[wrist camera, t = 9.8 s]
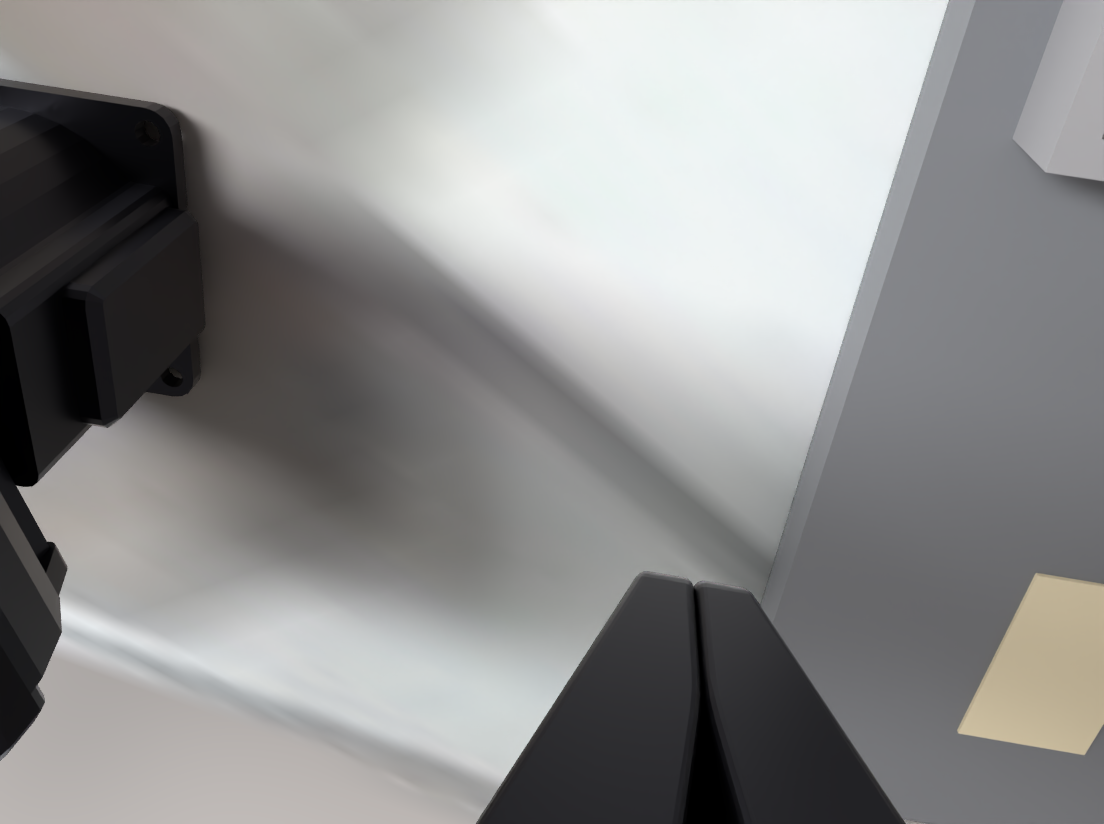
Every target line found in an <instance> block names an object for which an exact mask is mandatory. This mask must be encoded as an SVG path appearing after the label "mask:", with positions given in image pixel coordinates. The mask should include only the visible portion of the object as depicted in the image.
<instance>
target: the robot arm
mask: <svg viewBox="0 0 1104 824" xmlns="http://www.w3.org/2000/svg"><path fill="white" fill-rule="evenodd" d="M145 120H146V121H149V122H151V123H153V124H154V125H155V126H156V127H157V128H158V130H159V133H160V141H157V140H154V139H152V138H151V137H150V136H149V135H148V134H147V133H146V131H145V128H144V123H145ZM204 327H205V312H204V299H203V286H202V273H201V259H200V246H199V233H198V223H197V222H196V220H195V219H194V217H193V216H192V214H191V213H190V212H189V211H188V208H187V195H186V183H185V170H184V158H183V146H182V133H181V129H180V125H179V122H178V120H177V119H176V117H175V116H174V114H173V113H172V112H171V111H170V110H168V109H167V108H166V107H165V106H163V105H160V104H157V103H154V102H148V101H141V100H135V99H128V98H122V97H115V96H109V95H102V94H96V93H89V92H83V91H76V90H70V89H63V88H57V87H50V86H44V85H37V84H31V83H25V82H18V81H12V80H5V79H0V761H1V760H2V759H3V758H4V757H5V756H6V755H7V754H8V753H9V751H10V750H11V749H12V748H13V747H14V745H15V744H16V743H17V742H18V741H19V739H20V738H21V737H22V735H23V734H24V733H25V732H26V731H27V730H28V728H29V727H30V726H31V725H32V724H33V722H34V721H35V719H36V718H37V716H38V714H39V713H40V711H41V709H42V707H43V705H44V703H45V699H44V695H43V693H42V692H41V690H40V688H39V687H38V683H39V681H40V680H41V679H42V677H43V675H44V672H45V670H46V668H47V665H48V663H49V661H50V658H51V656H52V654H53V651H54V649H55V647H56V644H57V642H58V640H59V637H60V635H61V633H62V628H61V611H60V598H59V594H60V591H61V587H62V584H63V581H64V578H65V575H66V572H67V565H66V563H65V561H64V559H63V558H62V556H61V554H60V552H59V550H58V548H57V547H56V545H55V544H54V543H53V542H47V541H46V539H45V538H44V536H43V534H42V532H41V530H40V529H39V527H38V525H37V523H36V521H35V519H34V518H33V516H32V514H31V512H30V510H29V508H28V507H27V505H26V503H25V501H24V499H23V498H22V496H21V494H20V492H19V490H18V488H17V487H16V485H17V486H23V487H29V486H33V485H35V484H36V483H37V482H38V481H39V480H40V479H41V478H42V477H43V476H44V475H45V474H46V473H47V472H48V471H49V470H50V469H51V468H52V467H53V466H54V465H55V464H56V463H57V461H58V460H59V459H60V458H61V457H62V456H63V455H64V454H65V453H66V452H67V451H68V450H69V449H70V448H71V447H72V446H73V445H74V444H75V443H76V442H77V441H78V440H79V439H80V438H81V437H82V435H83V434H84V433H85V432H86V431H87V430H88V429H89V428H90V427H91V426H92V425H94V426H100V427H106V428H108V427H110V426H111V425H113V424H114V423H115V422H117V421H118V420H119V419H120V418H122V416H123V415H124V414H125V413H126V412H127V411H128V410H129V409H130V408H131V407H132V406H133V405H134V404H135V402H136V401H137V400H138V399H139V398H140V397H141V396H142V395H143V394H144V393H145V392H151V393H157V394H163V395H169V396H183V395H185V394H187V393H189V392H190V390H191V389H192V388H193V387H194V386H195V385H196V383H197V382H198V381H199V379H200V374H201V368H200V356H199V344H198V334H199V333H200V332H201V331H202V330H203V329H204ZM168 367H171V368H174V369H176V370H177V371H179V372H180V373H181V375H182V378H178V377H175V376H174V375H173V374H172V373H171V372H170V370H169V368H168ZM476 824H906V823H905V822H904V820H903V819H902V817H901V816H900V814H899V813H898V811H897V810H896V808H895V807H894V805H893V804H892V802H891V801H890V799H889V798H888V796H887V795H886V793H885V792H884V790H883V789H882V787H881V786H880V784H879V783H878V781H877V780H876V778H875V777H874V775H873V774H872V772H871V771H870V769H869V768H868V766H867V765H866V763H865V762H864V760H863V759H862V757H861V756H860V754H859V753H858V751H857V750H856V748H855V747H854V745H853V744H852V742H851V741H850V739H849V738H848V736H847V735H846V733H845V732H844V730H843V729H842V727H841V726H840V724H839V723H838V721H837V720H836V718H835V717H834V715H833V714H832V712H831V711H830V709H829V708H828V706H827V705H826V703H825V702H824V700H823V699H822V697H821V696H820V694H819V693H818V691H817V690H816V688H815V687H814V685H813V684H812V682H811V681H810V679H809V678H808V676H807V675H806V673H805V672H804V670H803V669H802V667H801V666H800V664H799V663H798V661H797V660H796V658H795V657H794V655H793V654H792V652H791V651H790V649H789V648H788V646H787V645H786V643H785V642H784V640H783V639H782V638H781V636H780V635H779V633H778V632H777V630H776V629H775V627H774V626H773V624H772V623H771V621H770V620H769V618H768V617H767V615H766V614H765V612H764V611H763V609H762V608H761V606H760V605H759V603H758V602H757V600H756V599H755V597H754V596H753V594H752V593H751V592H749V591H748V590H747V589H745V588H742V587H737V586H731V585H725V584H719V583H713V582H707V581H700V582H698V583H697V584H696V585H695V586H694V587H693V585H692V583H691V582H690V581H689V580H688V579H687V578H684V577H678V576H672V575H666V574H660V573H654V572H649V571H645V572H642V573H640V574H639V575H638V576H637V577H636V578H635V579H634V581H633V582H632V584H631V586H630V587H629V589H628V590H627V592H626V593H625V595H624V596H623V598H622V599H621V601H620V602H619V604H618V606H617V607H616V609H615V610H614V612H613V613H612V615H611V616H610V618H609V619H608V621H607V622H606V624H605V626H604V627H603V629H602V630H601V632H600V633H599V635H598V636H597V638H596V639H595V641H594V642H593V644H592V646H591V647H590V649H589V650H588V652H587V653H586V655H585V656H584V658H583V659H582V661H581V662H580V664H579V666H578V667H577V669H576V670H575V672H574V673H573V675H572V676H571V678H570V679H569V681H568V682H567V684H566V686H565V687H564V689H563V690H562V692H561V693H560V695H559V696H558V698H557V699H556V701H555V703H554V704H553V706H552V707H551V709H550V710H549V712H548V713H547V715H546V716H545V718H544V719H543V721H542V723H541V724H540V726H539V727H538V729H537V730H536V732H535V733H534V735H533V736H532V738H531V739H530V741H529V743H528V744H527V746H526V747H525V749H524V750H523V752H522V753H521V755H520V756H519V758H518V759H517V761H516V763H515V764H514V766H513V767H512V769H511V770H510V772H509V773H508V775H507V776H506V778H505V780H504V781H503V783H502V784H501V786H500V787H499V789H498V790H497V792H496V793H495V795H494V796H493V798H492V800H491V801H490V803H489V804H488V806H487V807H486V809H485V810H484V812H483V813H482V815H481V816H480V818H479V820H478V821H477V823H476Z"/></svg>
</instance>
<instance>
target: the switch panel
mask: <svg viewBox="0 0 1104 824" xmlns="http://www.w3.org/2000/svg"><path fill="white" fill-rule="evenodd" d="M760 606H761V608H762V609H763V611H764V612H765V614H766V615H767V617H768V618H769V620H770V621H771V623H772V624H773V626H774V627H775V629H776V630H777V632H778V633H779V635H780V636H781V638H782V639H783V640H784V642H785V643H786V645H787V646H788V648H789V649H790V651H791V652H792V654H793V655H794V657H795V658H796V660H797V661H798V663H799V664H800V666H801V667H802V669H803V670H804V672H805V673H806V675H807V676H808V678H809V679H810V681H811V682H812V684H813V685H814V687H815V688H816V690H817V691H818V693H819V694H820V696H821V697H822V699H823V700H824V702H825V703H826V705H827V706H828V708H829V709H830V711H831V712H832V714H833V715H834V717H835V718H836V720H837V721H838V723H839V724H840V726H841V727H842V729H843V730H844V732H845V733H846V735H847V736H848V738H849V739H850V741H851V742H852V744H853V745H854V747H855V748H856V750H857V751H858V753H859V754H860V756H861V757H862V759H863V760H864V762H865V763H866V765H867V766H868V768H869V769H870V771H871V772H872V774H873V775H874V777H875V778H876V780H877V781H878V783H879V784H880V786H881V787H882V789H883V790H884V792H885V793H886V795H887V796H888V798H889V799H890V801H891V802H892V804H893V805H894V807H895V808H896V810H897V811H898V813H899V814H900V816H901V817H902V819H904V820H910V821H915V822H921V823H927V824H1104V0H949V3H948V6H947V9H946V12H945V15H944V19H943V22H942V25H941V28H940V31H939V35H938V38H937V41H936V44H935V47H934V51H933V54H932V57H931V60H930V63H929V67H928V70H927V73H926V76H925V79H924V83H923V86H922V89H921V92H920V95H919V99H918V102H917V105H916V108H915V112H914V115H913V118H912V121H911V124H910V128H909V131H908V134H907V137H906V140H905V144H904V147H903V150H902V153H901V156H900V160H899V163H898V166H897V169H896V172H895V176H894V179H893V182H892V185H891V188H890V192H889V195H888V198H887V201H886V204H885V208H884V211H883V214H882V217H881V220H880V224H879V227H878V230H877V233H876V237H875V240H874V243H873V246H872V249H871V253H870V256H869V259H868V262H867V265H866V269H865V272H864V275H863V278H862V281H861V285H860V288H859V291H858V294H857V297H856V301H855V304H854V307H853V310H852V313H851V317H850V320H849V323H848V326H847V329H846V333H845V336H844V339H843V342H842V345H841V349H840V352H839V355H838V358H837V361H836V365H835V368H834V371H833V374H832V378H831V381H830V384H829V387H828V390H827V394H826V397H825V400H824V403H823V406H822V410H821V413H820V416H819V419H818V422H817V426H816V429H815V432H814V435H813V438H812V442H811V445H810V448H809V451H808V454H807V458H806V461H805V464H804V467H803V470H802V474H801V477H800V480H799V483H798V486H797V490H796V493H795V496H794V499H793V502H792V506H791V509H790V512H789V515H788V519H787V522H786V525H785V528H784V531H783V535H782V538H781V541H780V544H779V547H778V551H777V554H776V557H775V560H774V563H773V567H772V570H771V573H770V576H769V579H768V583H767V586H766V589H765V592H764V595H763V599H762V602H761V605H760Z"/></svg>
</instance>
